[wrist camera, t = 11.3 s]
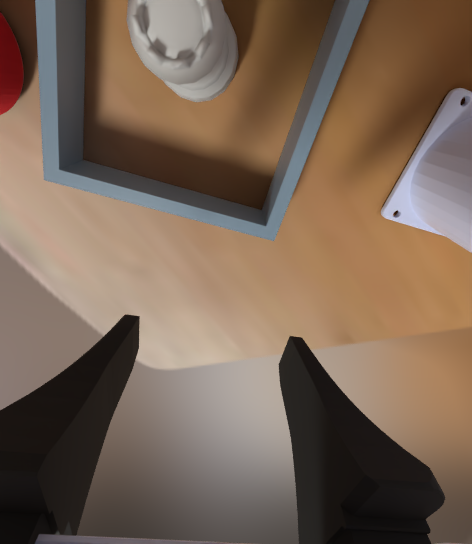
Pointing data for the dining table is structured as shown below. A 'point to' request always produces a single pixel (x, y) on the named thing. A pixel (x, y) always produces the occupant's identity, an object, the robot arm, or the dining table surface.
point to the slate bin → (151, 193)
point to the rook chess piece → (185, 44)
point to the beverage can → (9, 67)
